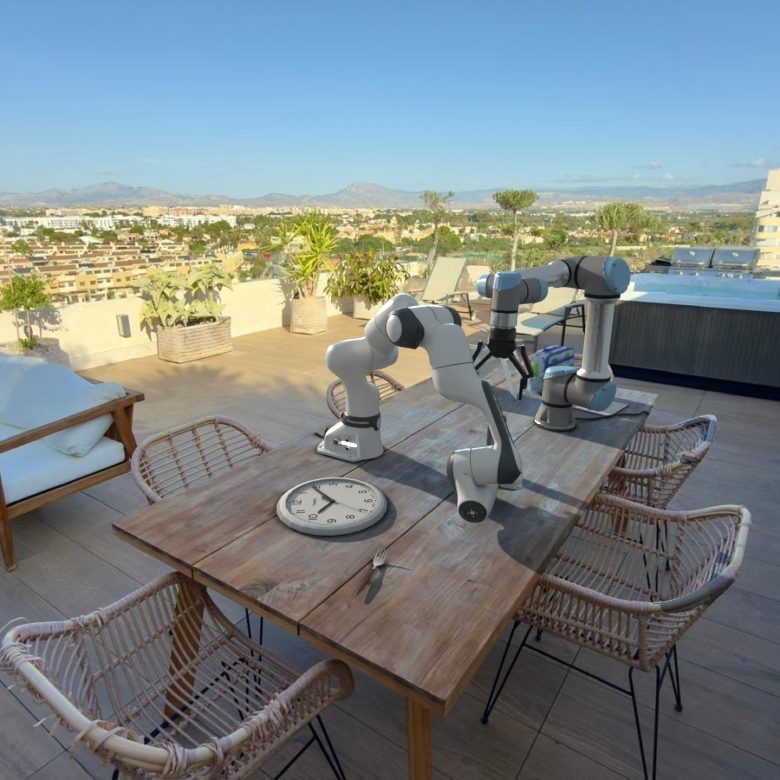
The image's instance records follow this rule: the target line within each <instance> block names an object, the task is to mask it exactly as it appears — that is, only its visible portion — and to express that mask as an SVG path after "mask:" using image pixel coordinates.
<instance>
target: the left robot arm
mask: <svg viewBox="0 0 780 780" xmlns="http://www.w3.org/2000/svg"><path fill="white" fill-rule="evenodd" d="M462 324H463V323H462V317H461V315H460V313H459V311H458V310H457V309H456V308H454V307H452V306H450V305H445V304H438V305H437V304H436V305H435V304H423V305H420V304H419V302H418V300H417V299H416V298H415V297H414V296H412V295H410V294H408V293H398V294H396V295H394V296H393V297H391V298H390V299H388V300H387V301H386V302H384V304H383V305H382V306H380V308H379V309H378V310H377V311H376V312H375V313H374V315H373V316H372V317H371V318H370V319H369V320H368V322H367V323H366V324H365V325H364V336H363V337H359V338H350V339H344V340H340V341H338V342H335V343H332V344H330V345H329V346H328V347H327V349H326V352H325V356H324V360H325V365H326V367H327V368H328V370H329V371H330V373H331V374H333V375H334V376H336V377H337V378H338V379H339V380H340V381H341V384H342V385H343V389H344V395H345V408H344V409H343V411H341V412H340V414H339V417H338V419H340V421H338V422H337V423H334V424H331V425H327V426H326V427H325V429H324V432H323V435H321V434H320V433H318V432H314V435H315V436H317V437H318V438H321V439H323V440H322V441H321V442H320V443H319V444H318V445H317V449H316V451H317V453H318V454H321V455H325V456H328V457H333V458H336V459H339V460H343V461H347V462H351V463H357V462H360V461H363V460H371V459H375V458H379V457H380V456H382V455H383V453H384V452H385V450H384V446H383V442H382V438H381V436H382V435H381V426H382V425H381V424H382V417H381V410H380V389H379V388H378V387H377V385H375V384H374V383H373V382H370V381H368V379H367V372H373V371H379V370H383V369H387V368H388V367H390V366H393V365H394V364H395V363H396V362H397V361H398V358H399V353H400V351H399V348H403V349H410V350H417V349H418V348H422V349H424V350H425V351H426V353H427V355H428V360H429V367H430V373H431V379H432V382H433V386H434V389H435V391H436V392H437V393H438V394H439V395H440V396H442V397H443V398H445V399H446V400H449V401H452V402H455V403H456V402H457V403H461V404H467V405H470V406H473V407H475V408H477V409H478V410H480V411H481V412H482V413H483V416H484V417H485V420H486V422H487V427H488V426H489V428H490V431H491V434H492V436H493V439H494V442H495V443H494V444H493V445H490V446H486V445H482V446H475V447H473V446H472V447H465V448H459V449H454V450H453V451H452V453H451V454H450V456H449V458H448V460H447V463H446V477H447V478H446V479H447V482H448V484H449V486H450V488H451V490H452V491H453V492H454V493H455V495H457V513H458V515H459V516H460V517H461V519H463V520H464V521H466V522H468V523H470V524H471V523H472V524H479V523H482V522H484V521H485V520H487V519H488V518H489V516H490V515H491V513H492V511H493V509H494V505H495V501H496V497H497V495H498V492H499V490H500V491H501V490H502V491H507V492H508V491H509V492H517V491H518V490H522V489H523V479H524V471H523V461H522V457H521V454H520V453H519V450H518V449H517V447H516V444H515V442H514V440H513V437H512V434H511V432H510V429H509V427H508V424H507V420H506V421H505V418H504V416H505V415H504V413H503V411H502V408H501V405H500V402H499V400H498V398H497V394H496V393H495V390H494V389H493V387H492V385H491V383H489V381H486V380H484V379H483V380H482V379H481V378H480V377H479V375H478V374H477V372H476V370H475V367H474V363H473V358H472V354H471V350H470V347H471V346H470V344H469V343H470V342H469V340H468V337H467V335H466V333H465V330H464V329H463V326H462ZM503 415H504V416H503Z"/></svg>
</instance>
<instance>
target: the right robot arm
mask: <svg viewBox="0 0 780 780" xmlns="http://www.w3.org/2000/svg"><path fill="white" fill-rule="evenodd" d="M630 284H631V269H630V266H629V264H628V262H627V261H626V260H625V259H624V258H621V257H616V256H610V255H609V256H608V255H605V256H604V255H587V254H586V255H585V254H582V255H581V254H580V255H573V256H569V257H564V258H560V259H555V260H552V261H551V262H549V263H548V264H544V265H539V266H534V267H528V268H523V269H518V270H517V269H516V270H512V271H511V270H510V271H497V272H496V273H492V272H491V273H483V274H481V275H480V276H479V278H478V279H477V281H476V291H477V293H478V295H479V296H480V297H483V298H487V299H492V302H491V311H490V325H491V326H490V327H489V335H488V342H487V341H484V340H482V339H481V340H479V341H478V342H477V345H476V346H477V349H476V351H475V353H474V354H473V356H472V358H473V363H474V362H475V360H476V358H477V357H478V355H479V353H480V352H481V350H482V349H484V348H485V346H487V347H488V349H489V351H490V352H489V353H488V354H487V355H486V356H485V357H484V358H483V359H482V360H481V361H480V362H479V363H478V364H477V365H476V366H475V370H476V371H477V370H478V369H479V368H480V367H481V366H482V365H483V364H484V363H485V362H486V361H487V360H488V359H489V358H490V357H491V356H493V357H495V358H502V359H506V358H509V360H508V361H509V362H511V363H512V365H513V367H515V369H516V371H517V370H518V372H519V373H520V374H521V376H522V377H521V379H519V389H518V399H517V400H518V401H522V399H523V394H524V391H523V389H525V390H526V388H527V387H528V381H529V379H530V378H533V377H534V375H535V373H534V370H533V368H532V365H531V359H530V357H529V355H528V353H527V344H525V343H523V344H516V337H517V328H516V327H517V326H518V314H519V306H520V305H529V304H533V305H534V304H537V303H542V302H543V301H545V299H547V296H548V294H549V288H554V289H560V288H561V289H562V288H567V289H576V290H580V291H581V290H582V291H584V292H583V298H584V299H585V301H587V309H586V318H585V328H584V331H585V332H584V338H583V339H584V340H583V348H582V358H581V367H580V368H579V369H578V368H577V367H576V366H573V367H571V366H554V367H549V368H547V369H546V371H545V375H544V378H543V379H544V382H543V391H542V393H541V402H540V405H539V407H538V409H537V410H536V413H535V416H534V424H535V425H536V426H537V427H539V428H542V429H544V430H549V431H556V432H567V431H572V430H574V429H575V428H576V420H577V421H578V420H579V421H594V420H601V419H607V418H611V417H616V416H617V417H618V416H640V415H642V414H646V415H650V413H649V412H648V411H647V410H642V411H640V412H633V413H631V412H630V413H628V412H627V413H626V412H625V413H624V412H621V413H619V412H617V413H614V414H612V415H607V416H604V415H600V416H595V417H576V416H575V413H574V407H573V405H574V406H580V407H583V408H586V409H588V410H593V411H597V412H601V411H604V410H605V409H607V408H608V407H609V406H610V404H611V403H612V401H614V400H615V398H616V394H617V389H618V388H617V384H616V383H615V382H614V381H613V380H611V379H612V373H611V372H610V371H609V370H608V366H609V359H610V358H609V356H610V347H611V340H612V339H611V338H612V330H613V322H614V314H615V305H616V303H617V301H619V300H620V299H621V295H622V294H624V293H626V292H627V290H628V289H629V286H630ZM515 350H516V351H518V353H520V356H521V358H522V361H523V363H524V366H525V368H526V370H525V368H524V367H523V365H522V364H521V362H520V360H519V361H518V360H517V358H516V356H515V355H514V353H513V352H514V351H515ZM477 374H478V375H479V372H477Z"/></svg>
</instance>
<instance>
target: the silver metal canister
mask: <svg viewBox="0 0 780 780" xmlns="http://www.w3.org/2000/svg"><path fill="white" fill-rule="evenodd" d="M485 443H486V445H485V446H490V445H493V444H494V443H495V442H494V439H493V436H492V434H491V431H490V428H489V426H488V425H487V430H486V442H485Z"/></svg>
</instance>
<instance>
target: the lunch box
mask: <svg viewBox="0 0 780 780" xmlns="http://www.w3.org/2000/svg"><path fill="white" fill-rule="evenodd" d="M530 363H531V365H532V368H533V370H534V373H535V375H534V377H533V378H529V391H532V392H536V393H540V394H542V391H543V382H544V379H543V378H544V375H545V371H546V369H547V368H549V367H554V366H571V367H574V363H575V348H573V347H571V346H570V347H568V346H563V345H551V346H548V347H544V348H543V349H539V350H536V351H535V352H534V354H533V356H532V358H531V361H530Z"/></svg>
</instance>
